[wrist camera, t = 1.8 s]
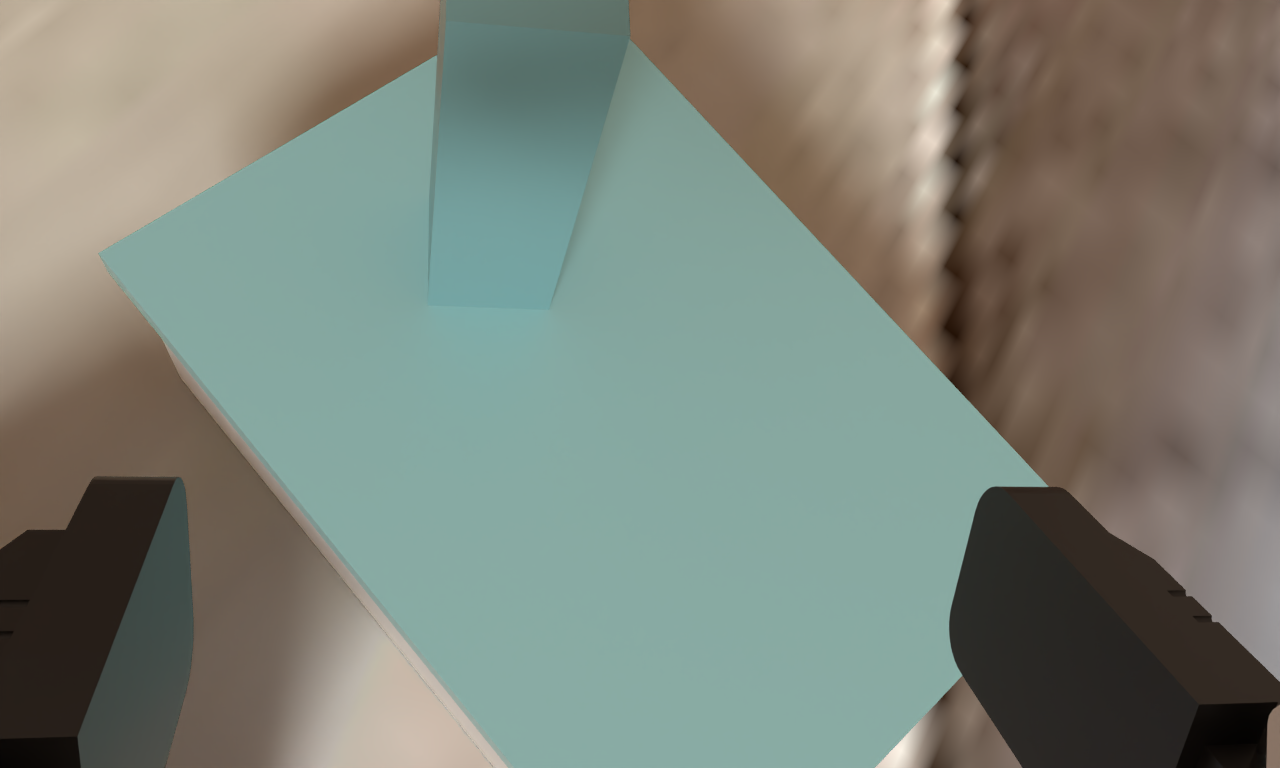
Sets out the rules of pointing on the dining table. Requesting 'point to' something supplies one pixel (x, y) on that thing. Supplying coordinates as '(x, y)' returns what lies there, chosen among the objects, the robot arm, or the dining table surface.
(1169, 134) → the dining table surface
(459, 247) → the lid
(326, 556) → the tub
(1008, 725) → the robot arm
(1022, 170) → the dining table surface
